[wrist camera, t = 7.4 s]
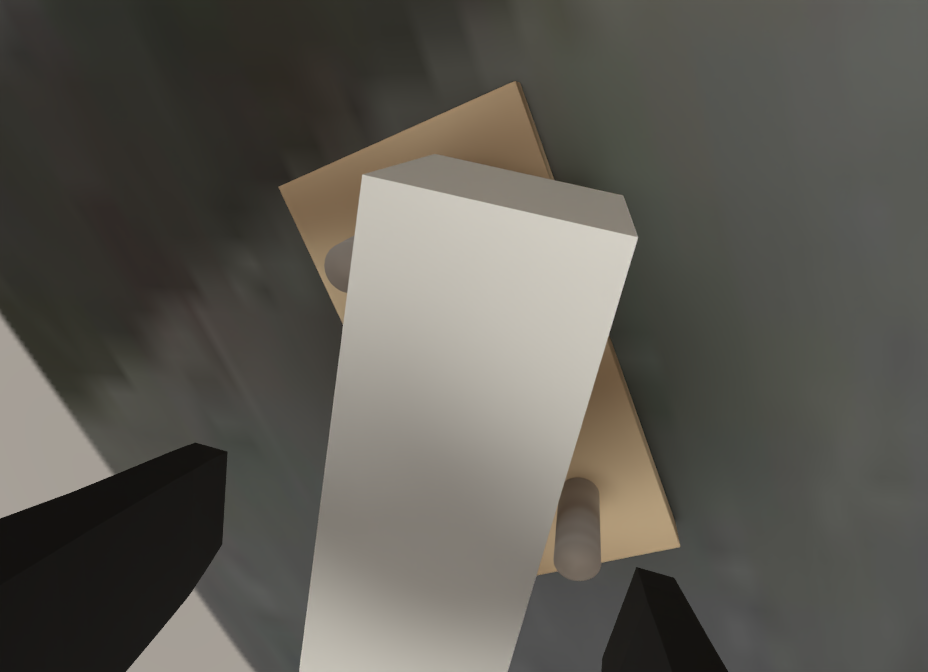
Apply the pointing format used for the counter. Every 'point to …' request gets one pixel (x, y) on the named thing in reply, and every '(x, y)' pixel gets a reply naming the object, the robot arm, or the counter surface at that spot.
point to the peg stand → (610, 405)
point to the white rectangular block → (456, 409)
